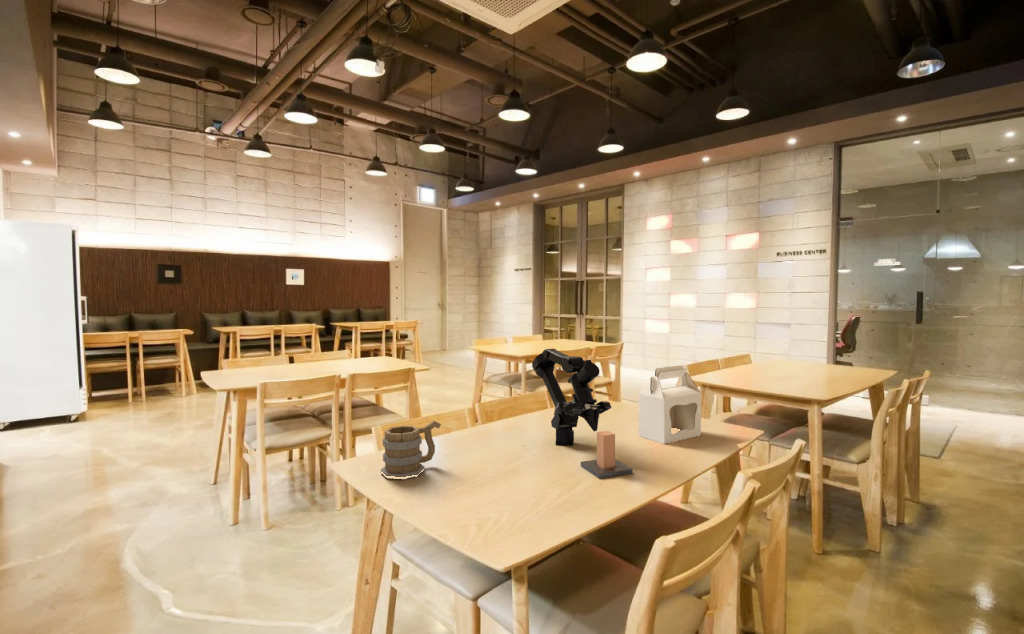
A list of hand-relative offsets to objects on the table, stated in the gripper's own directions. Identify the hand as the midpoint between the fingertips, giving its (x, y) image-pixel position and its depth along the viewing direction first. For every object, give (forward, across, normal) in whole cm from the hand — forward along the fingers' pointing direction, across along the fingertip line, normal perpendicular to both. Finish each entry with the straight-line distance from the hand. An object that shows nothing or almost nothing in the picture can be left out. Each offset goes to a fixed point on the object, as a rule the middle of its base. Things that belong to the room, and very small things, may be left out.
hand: (595, 430), depth 164 cm
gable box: (+2, -46, -3) cm, 46 cm away
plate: (+14, +3, +2) cm, 14 cm away
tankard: (-1, +52, -35) cm, 62 cm away
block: (+14, +3, +2) cm, 14 cm away
